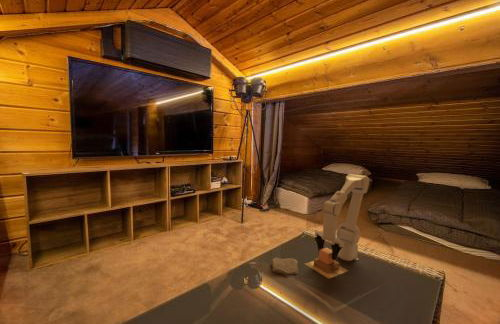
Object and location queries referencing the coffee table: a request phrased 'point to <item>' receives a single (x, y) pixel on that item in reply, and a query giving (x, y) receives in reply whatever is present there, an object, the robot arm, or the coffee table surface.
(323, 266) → the walnut slab
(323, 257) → the terracotta cube
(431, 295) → the coffee table surface
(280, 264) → the stone block
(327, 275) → the plate
